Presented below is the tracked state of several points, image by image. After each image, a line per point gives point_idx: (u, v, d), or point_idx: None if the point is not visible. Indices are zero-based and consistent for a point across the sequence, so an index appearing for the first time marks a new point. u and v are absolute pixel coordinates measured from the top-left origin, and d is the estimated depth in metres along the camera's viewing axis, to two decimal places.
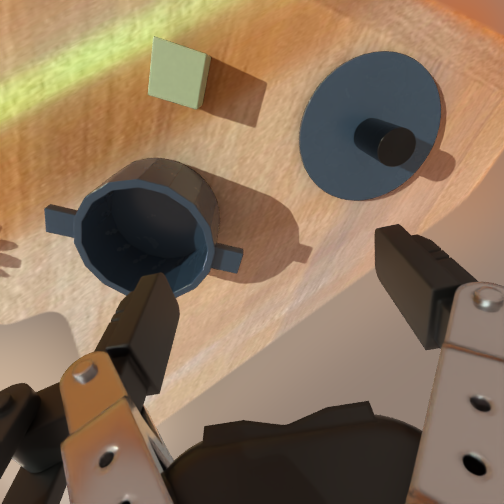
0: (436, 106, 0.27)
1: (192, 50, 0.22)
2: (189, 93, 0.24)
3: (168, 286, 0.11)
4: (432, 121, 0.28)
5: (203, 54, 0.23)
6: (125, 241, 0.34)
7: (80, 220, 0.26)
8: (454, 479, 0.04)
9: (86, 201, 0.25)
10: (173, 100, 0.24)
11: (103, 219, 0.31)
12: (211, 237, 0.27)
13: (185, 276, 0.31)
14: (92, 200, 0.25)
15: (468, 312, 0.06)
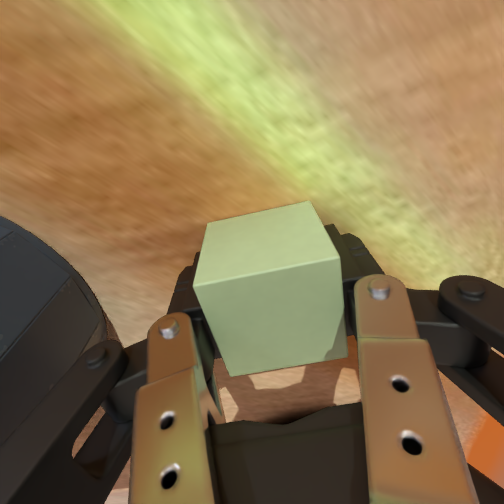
0: None
1: (344, 335, 0.09)
2: (252, 357, 0.09)
3: None
4: None
5: (345, 354, 0.10)
6: None
7: None
8: (401, 467, 0.04)
9: None
10: (217, 337, 0.09)
11: None
12: None
13: None
14: None
15: (368, 304, 0.07)
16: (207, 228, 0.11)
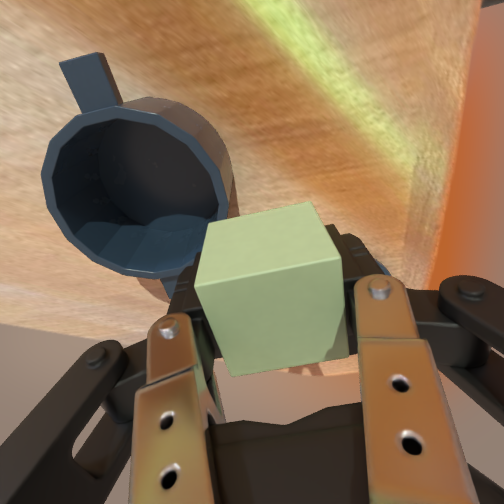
0: None
1: (345, 335, 0.09)
2: (254, 357, 0.09)
3: None
4: None
5: (346, 354, 0.10)
6: (98, 145, 0.25)
7: (118, 116, 0.18)
8: (401, 467, 0.04)
9: (152, 117, 0.18)
10: (218, 338, 0.09)
11: None
12: None
13: (121, 249, 0.25)
14: (158, 124, 0.18)
15: (368, 304, 0.07)
16: (208, 228, 0.11)
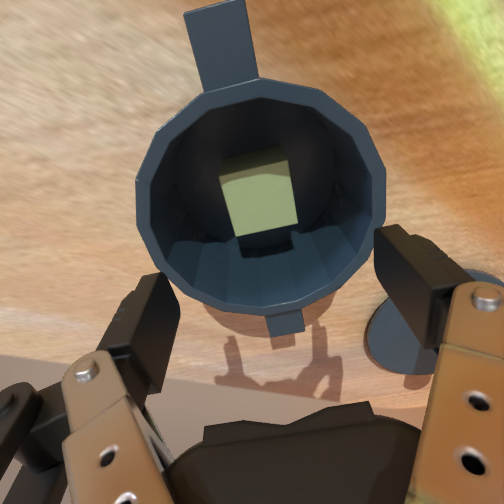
0: None
1: (294, 208, 0.18)
2: (247, 222, 0.18)
3: (169, 286, 0.11)
4: None
5: (296, 220, 0.18)
6: (182, 141, 0.19)
7: (262, 93, 0.12)
8: (453, 478, 0.04)
9: (312, 95, 0.12)
10: (229, 209, 0.18)
11: None
12: (322, 296, 0.18)
13: (214, 276, 0.19)
14: (318, 106, 0.12)
15: (466, 311, 0.06)
16: (222, 160, 0.20)
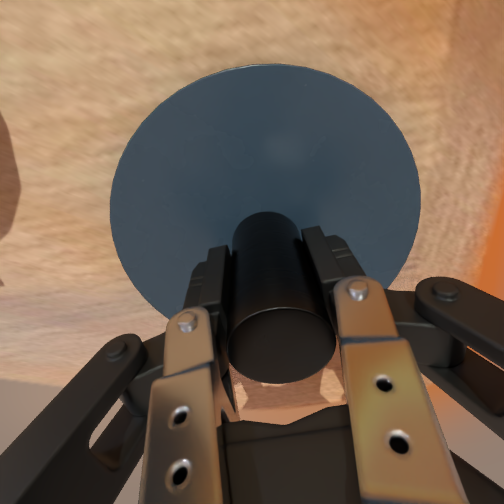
0: None
1: None
2: None
3: None
4: None
5: None
6: None
7: None
8: (390, 467, 0.04)
9: None
10: None
11: None
12: None
13: None
14: None
15: (348, 305, 0.07)
16: None
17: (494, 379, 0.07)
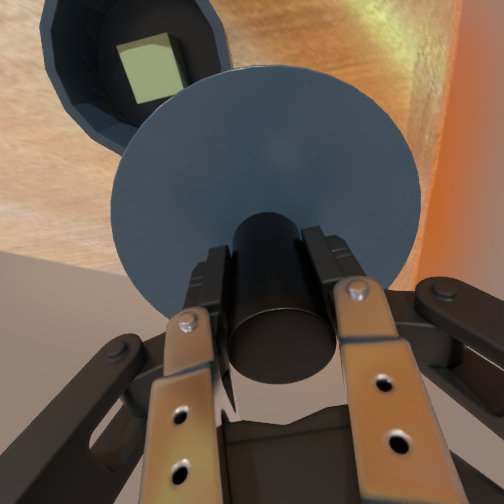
0: None
1: (179, 77, 0.23)
2: (144, 90, 0.23)
3: (231, 259, 0.12)
4: None
5: (182, 89, 0.24)
6: (97, 30, 0.24)
7: None
8: (390, 467, 0.04)
9: None
10: (128, 76, 0.23)
11: None
12: None
13: (121, 136, 0.24)
14: None
15: (348, 305, 0.07)
16: None
17: (494, 379, 0.07)
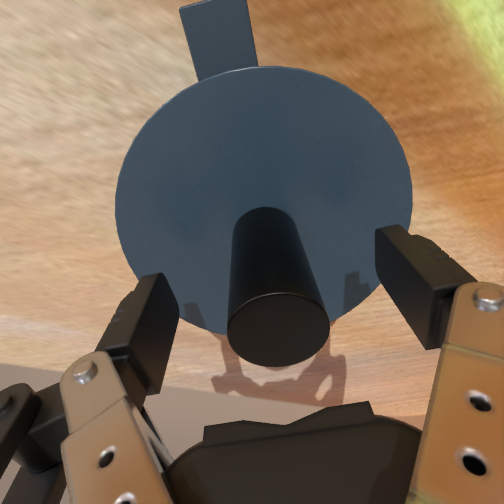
0: (355, 300, 0.16)
1: None
2: None
3: (168, 286, 0.11)
4: (333, 309, 0.16)
5: None
6: None
7: None
8: (454, 479, 0.04)
9: None
10: None
11: None
12: None
13: None
14: None
15: (468, 312, 0.06)
16: None
17: None
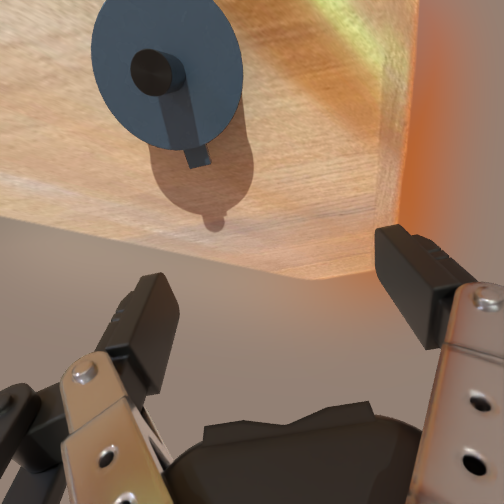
0: (225, 120, 0.29)
1: None
2: None
3: (168, 286, 0.11)
4: (214, 127, 0.29)
5: None
6: None
7: None
8: (454, 479, 0.04)
9: None
10: None
11: None
12: None
13: None
14: None
15: (468, 312, 0.06)
16: None
17: None
